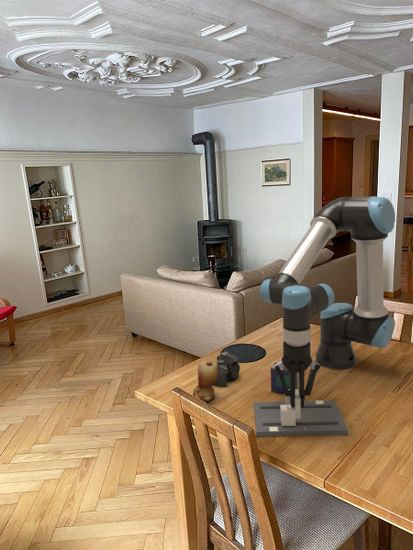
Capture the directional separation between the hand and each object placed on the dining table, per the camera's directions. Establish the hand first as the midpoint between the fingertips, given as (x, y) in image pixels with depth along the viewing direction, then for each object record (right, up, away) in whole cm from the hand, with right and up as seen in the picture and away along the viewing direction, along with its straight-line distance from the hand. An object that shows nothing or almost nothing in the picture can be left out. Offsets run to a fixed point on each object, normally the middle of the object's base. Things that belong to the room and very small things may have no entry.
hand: (297, 416), depth 120 cm
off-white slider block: (+1, 0, +9) cm, 9 cm away
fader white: (-3, -2, +1) cm, 4 cm away
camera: (-19, +2, +34) cm, 39 cm away
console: (+1, -3, +5) cm, 6 cm away
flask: (0, +1, +22) cm, 22 cm away
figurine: (-27, -1, +21) cm, 34 cm away
